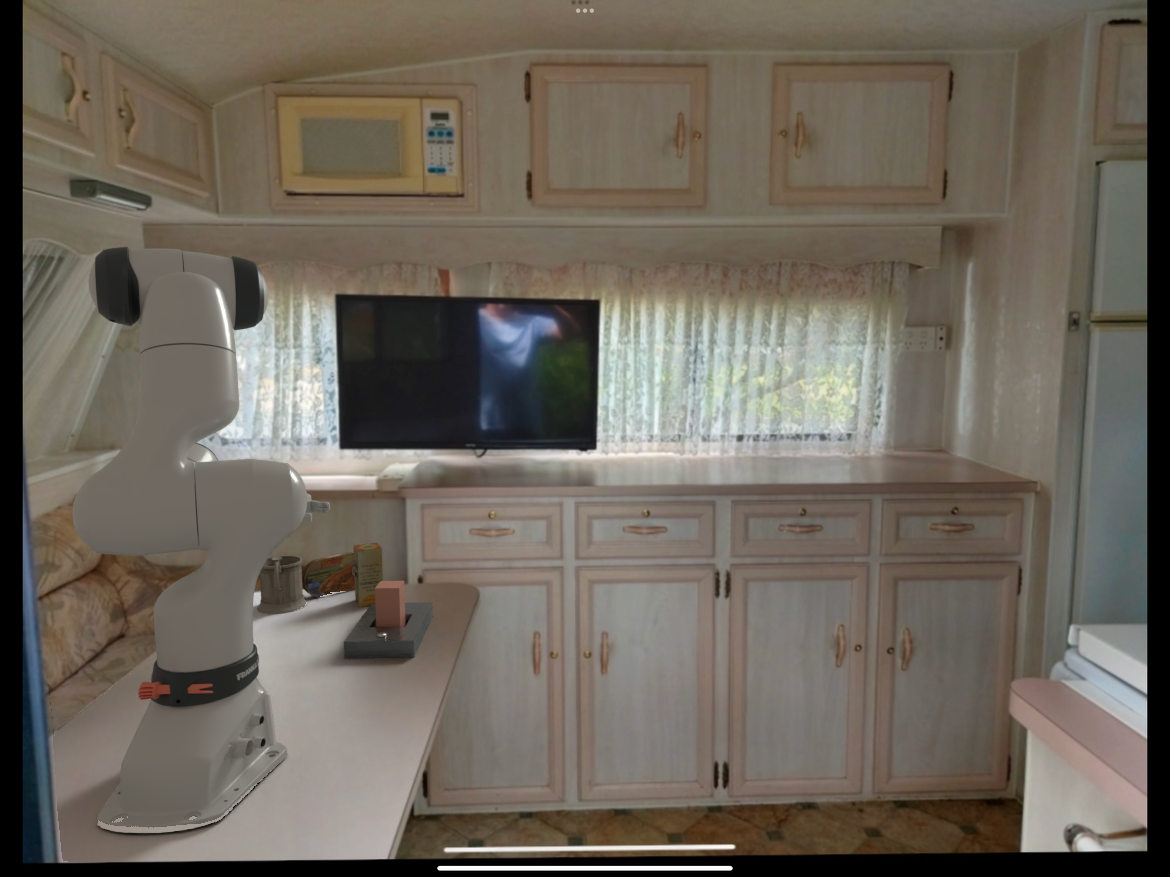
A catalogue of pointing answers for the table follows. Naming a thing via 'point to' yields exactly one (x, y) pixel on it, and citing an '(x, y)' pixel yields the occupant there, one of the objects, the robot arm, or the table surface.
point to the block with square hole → (389, 634)
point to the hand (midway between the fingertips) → (320, 512)
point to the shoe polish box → (367, 572)
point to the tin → (329, 575)
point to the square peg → (390, 604)
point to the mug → (281, 585)
